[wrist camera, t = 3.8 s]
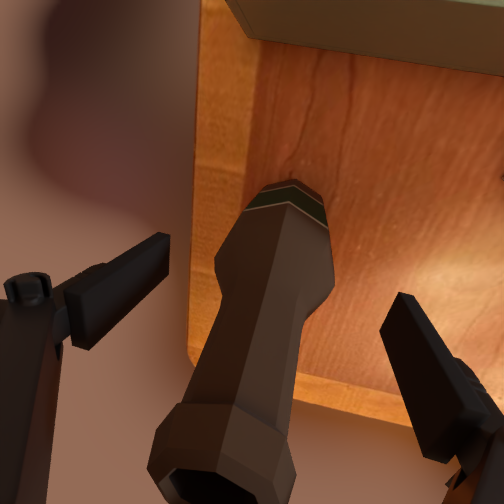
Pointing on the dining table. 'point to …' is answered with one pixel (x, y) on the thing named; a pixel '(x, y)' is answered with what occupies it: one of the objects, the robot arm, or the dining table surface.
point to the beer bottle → (249, 358)
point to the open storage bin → (386, 29)
